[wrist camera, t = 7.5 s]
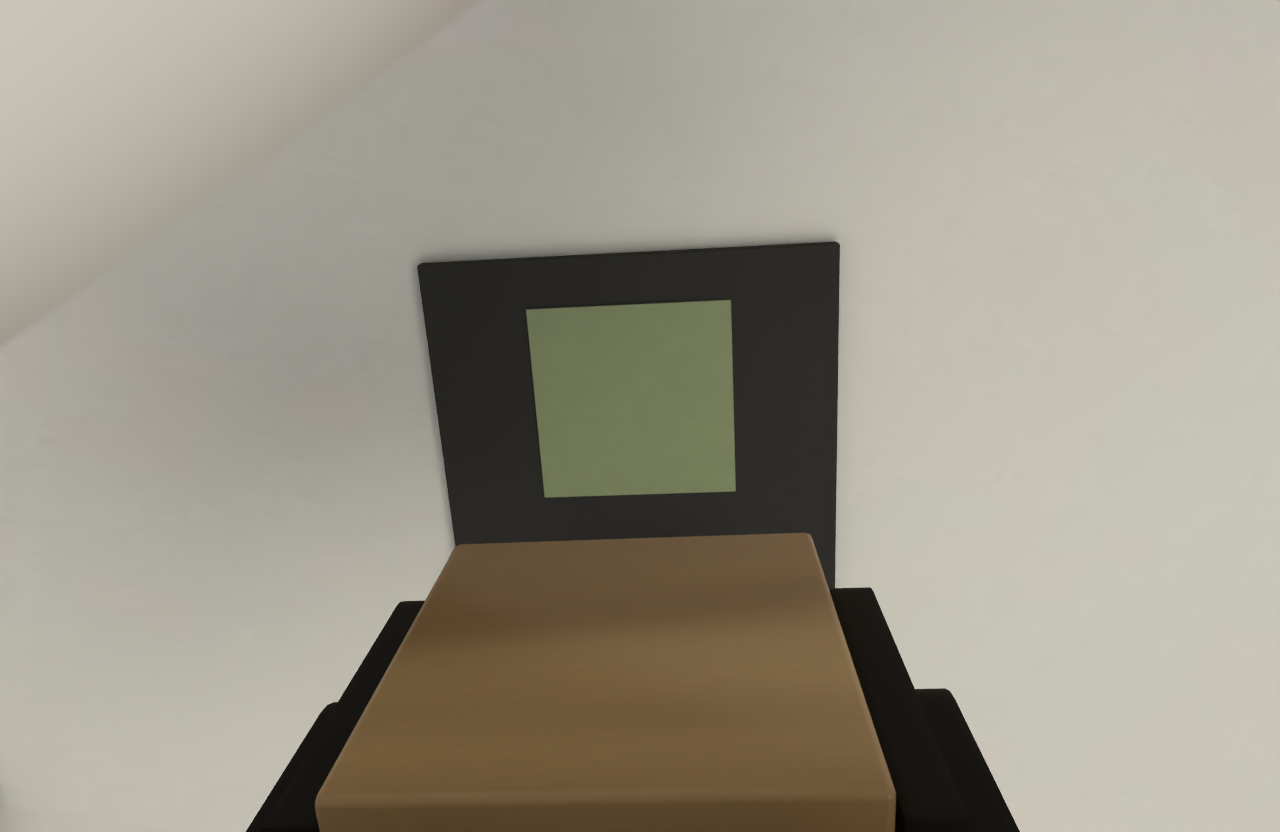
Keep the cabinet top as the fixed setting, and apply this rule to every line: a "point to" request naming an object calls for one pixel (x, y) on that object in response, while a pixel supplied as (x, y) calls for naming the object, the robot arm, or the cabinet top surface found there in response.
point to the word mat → (639, 393)
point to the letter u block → (619, 697)
